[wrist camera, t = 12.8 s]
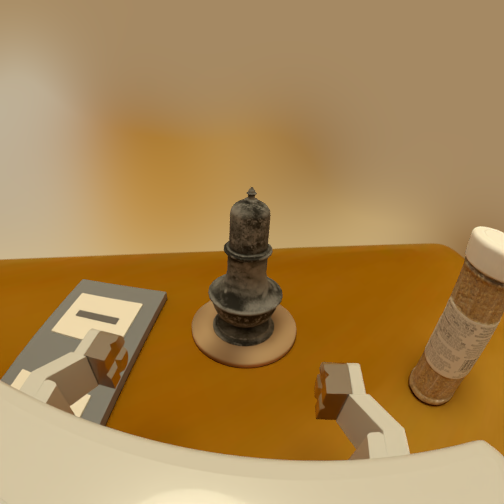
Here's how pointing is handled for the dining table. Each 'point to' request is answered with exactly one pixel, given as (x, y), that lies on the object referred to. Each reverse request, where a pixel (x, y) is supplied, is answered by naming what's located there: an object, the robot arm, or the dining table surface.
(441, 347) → the sprinkles bottle
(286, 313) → the coaster
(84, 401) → the label board
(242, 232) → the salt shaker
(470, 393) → the dining table surface
